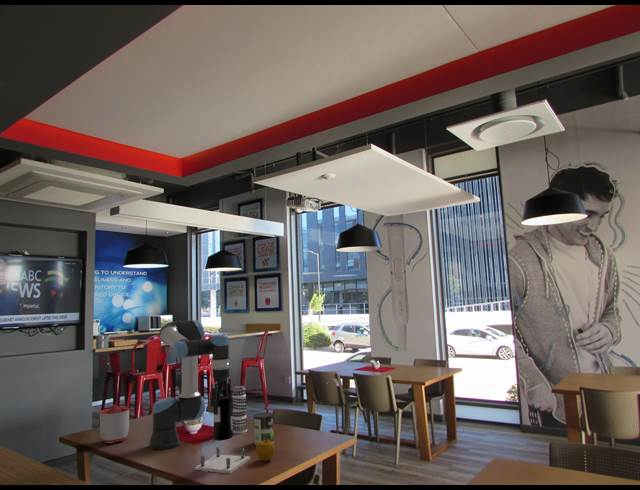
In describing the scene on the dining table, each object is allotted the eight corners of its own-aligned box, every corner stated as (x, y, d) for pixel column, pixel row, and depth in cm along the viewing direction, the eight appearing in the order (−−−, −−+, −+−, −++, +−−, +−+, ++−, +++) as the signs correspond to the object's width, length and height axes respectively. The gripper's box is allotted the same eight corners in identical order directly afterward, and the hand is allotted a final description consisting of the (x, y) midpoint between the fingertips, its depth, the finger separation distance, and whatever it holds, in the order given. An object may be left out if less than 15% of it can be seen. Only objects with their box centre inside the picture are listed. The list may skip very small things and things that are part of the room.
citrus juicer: (126, 435, 271) (126, 399, 273) (132, 441, 256) (132, 404, 259) (96, 440, 262) (96, 404, 265) (101, 447, 248) (101, 408, 250)
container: (214, 435, 217) (213, 396, 219) (233, 434, 217) (232, 394, 220) (211, 441, 208) (210, 399, 210) (231, 439, 209) (230, 398, 211)
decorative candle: (228, 431, 267) (227, 386, 270) (242, 428, 273) (241, 384, 276) (237, 434, 260) (236, 388, 263) (251, 430, 266) (249, 386, 269)
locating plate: (194, 470, 206) (194, 458, 206) (216, 457, 223) (216, 445, 223) (230, 473, 200) (230, 460, 201) (250, 459, 217) (249, 447, 217)
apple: (258, 465, 208) (258, 444, 209) (253, 459, 217) (252, 439, 218) (278, 461, 212) (277, 440, 213) (272, 455, 220) (271, 436, 221)
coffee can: (276, 439, 246) (275, 412, 248) (270, 445, 236) (269, 417, 238) (257, 439, 248) (257, 412, 250) (251, 445, 238) (250, 417, 240)
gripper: (216, 371, 206) (217, 425, 203) (239, 365, 225) (240, 414, 222) (201, 371, 208) (202, 424, 205) (225, 365, 227) (226, 413, 225)
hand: (222, 419), depth 214 cm, fingers closed on container, 8 cm apart
